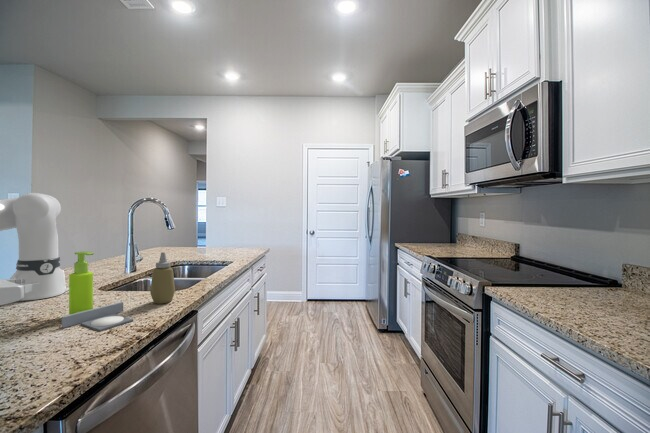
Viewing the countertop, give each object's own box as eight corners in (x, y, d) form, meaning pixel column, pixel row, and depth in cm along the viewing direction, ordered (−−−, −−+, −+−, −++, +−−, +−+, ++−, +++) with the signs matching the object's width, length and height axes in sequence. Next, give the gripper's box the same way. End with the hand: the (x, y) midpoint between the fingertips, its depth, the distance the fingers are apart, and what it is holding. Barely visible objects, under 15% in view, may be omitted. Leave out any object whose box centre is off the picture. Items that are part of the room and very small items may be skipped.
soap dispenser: (82, 319, 92) (82, 253, 92) (64, 317, 94) (63, 252, 93) (100, 312, 98) (100, 251, 98) (82, 311, 99) (82, 250, 99)
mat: (80, 324, 88) (80, 322, 88) (114, 315, 96) (114, 313, 96) (99, 331, 83) (99, 329, 83) (133, 321, 91) (133, 319, 91)
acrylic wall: (61, 327, 86) (61, 316, 86) (121, 310, 100) (121, 301, 100) (63, 327, 85) (63, 317, 85) (123, 311, 99) (123, 302, 99)
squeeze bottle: (176, 297, 116) (176, 250, 115) (174, 303, 108) (174, 253, 108) (152, 299, 113) (152, 251, 112) (148, 306, 105) (148, 254, 105)
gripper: (-59, 302, 77) (15, 289, 89) (-30, 315, 68) (48, 300, 80) (-59, 277, 77) (15, 268, 89) (-30, 287, 68) (48, 276, 80)
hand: (31, 283), depth 85 cm, fingers open, 8 cm apart
